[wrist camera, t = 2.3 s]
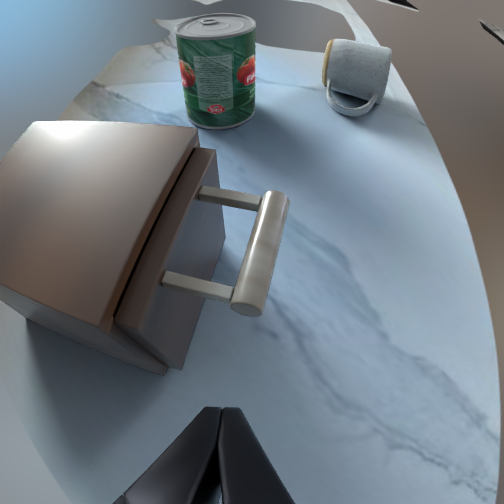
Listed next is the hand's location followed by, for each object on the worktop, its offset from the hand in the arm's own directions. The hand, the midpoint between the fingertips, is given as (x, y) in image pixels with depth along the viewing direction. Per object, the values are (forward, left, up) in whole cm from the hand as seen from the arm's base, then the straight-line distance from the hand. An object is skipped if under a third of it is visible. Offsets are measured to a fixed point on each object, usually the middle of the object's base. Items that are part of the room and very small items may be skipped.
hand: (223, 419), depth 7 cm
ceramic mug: (+38, -5, -14) cm, 41 cm away
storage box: (+8, +12, -13) cm, 20 cm away
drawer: (+8, +8, -12) cm, 17 cm away
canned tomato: (+30, +10, -14) cm, 35 cm away
